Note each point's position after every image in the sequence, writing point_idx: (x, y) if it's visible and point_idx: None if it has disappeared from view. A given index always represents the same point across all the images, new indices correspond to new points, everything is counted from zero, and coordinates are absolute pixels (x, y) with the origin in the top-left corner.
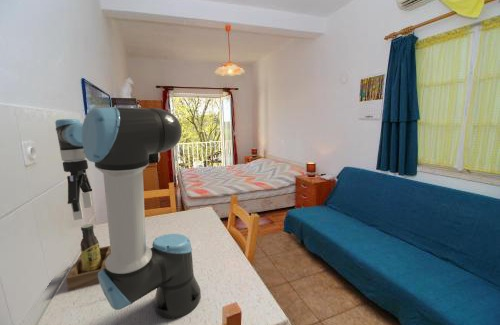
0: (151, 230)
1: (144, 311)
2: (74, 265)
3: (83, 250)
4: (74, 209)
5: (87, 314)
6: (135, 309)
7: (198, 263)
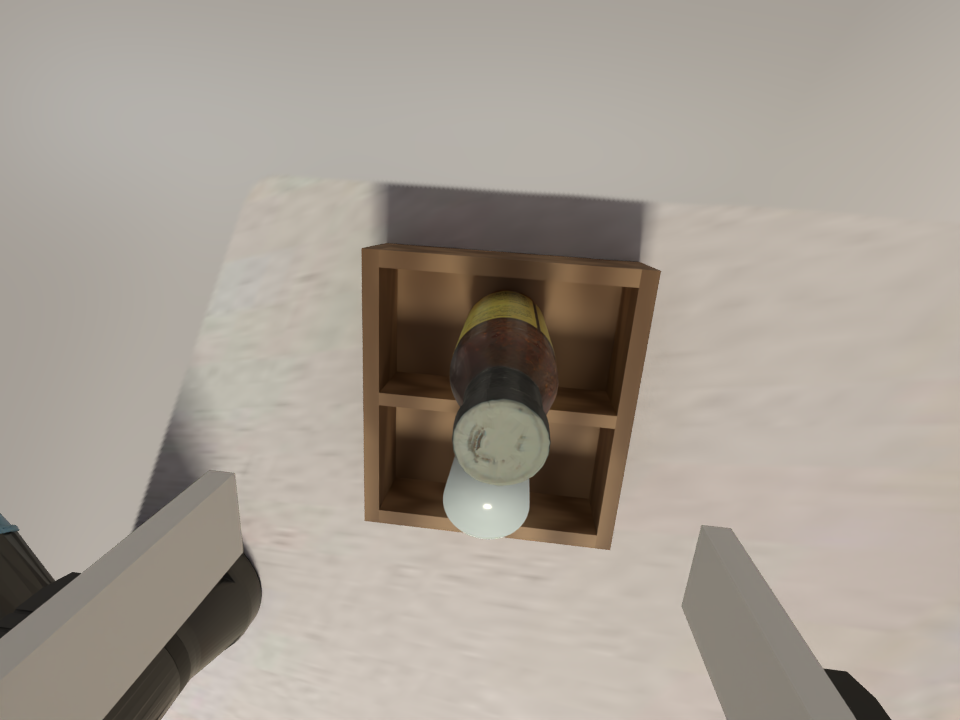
0: (832, 583)
1: None
2: (488, 259)
3: (462, 338)
4: (19, 621)
5: (226, 335)
6: (198, 472)
7: (364, 673)
